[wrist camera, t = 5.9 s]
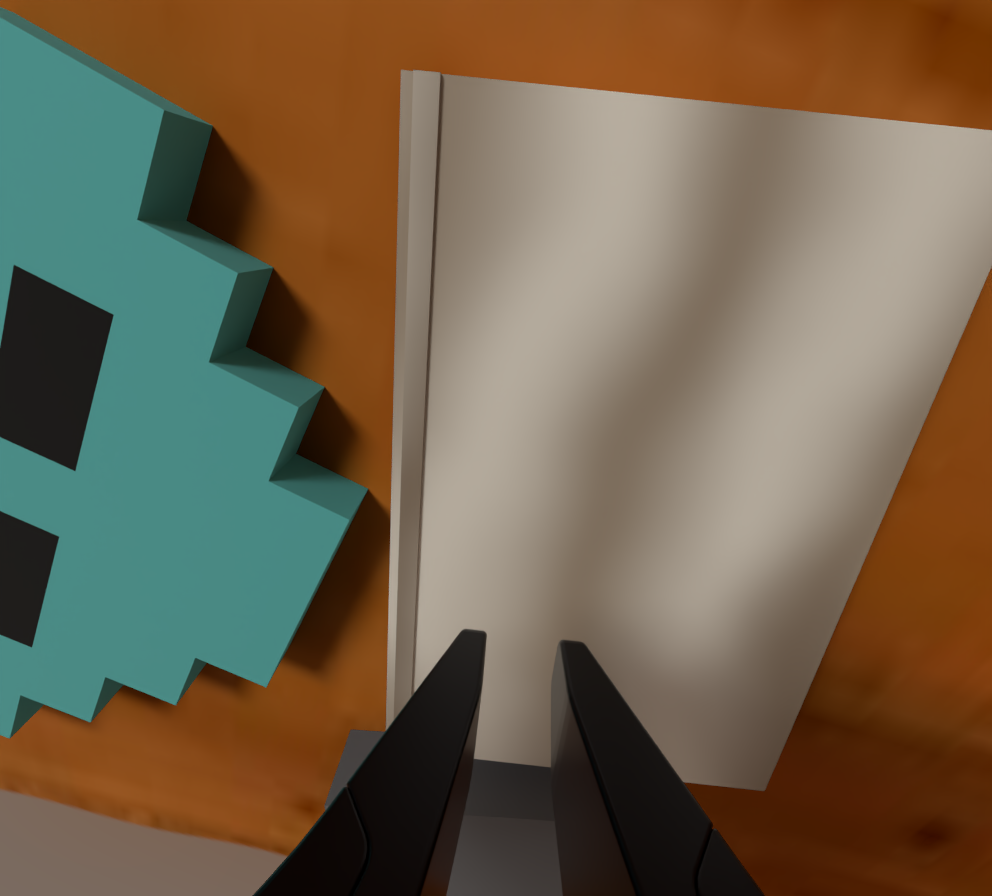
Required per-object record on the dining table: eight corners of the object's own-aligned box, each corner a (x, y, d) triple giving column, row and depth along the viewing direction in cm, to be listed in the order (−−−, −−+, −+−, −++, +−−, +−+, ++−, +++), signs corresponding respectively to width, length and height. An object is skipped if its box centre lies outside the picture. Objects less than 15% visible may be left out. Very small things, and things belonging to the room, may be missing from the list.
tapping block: (574, 736, 19) (583, 822, 16) (565, 819, 21) (571, 910, 18) (353, 722, 19) (324, 805, 17) (361, 805, 21) (337, 893, 18)
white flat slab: (983, 147, 11) (1052, 135, 10) (746, 748, 18) (765, 794, 17) (415, 89, 11) (399, 68, 10) (395, 709, 18) (384, 751, 17)
